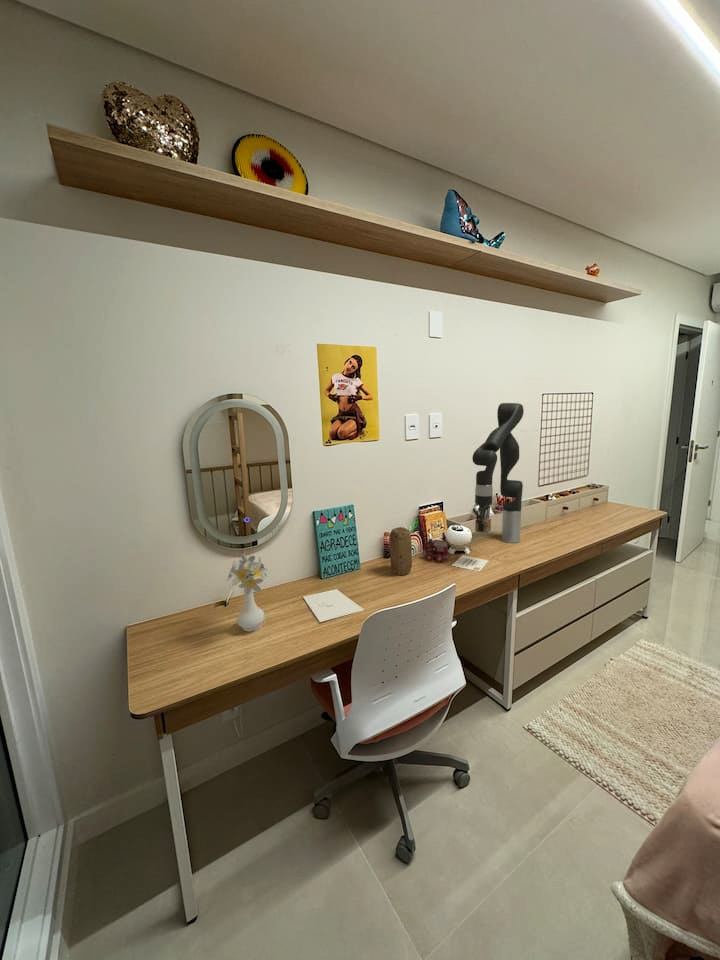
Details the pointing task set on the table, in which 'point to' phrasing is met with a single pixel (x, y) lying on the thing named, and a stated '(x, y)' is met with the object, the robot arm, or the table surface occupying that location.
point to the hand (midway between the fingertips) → (482, 529)
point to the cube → (486, 525)
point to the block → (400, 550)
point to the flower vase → (249, 591)
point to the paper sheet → (331, 605)
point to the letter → (470, 563)
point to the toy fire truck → (436, 550)
